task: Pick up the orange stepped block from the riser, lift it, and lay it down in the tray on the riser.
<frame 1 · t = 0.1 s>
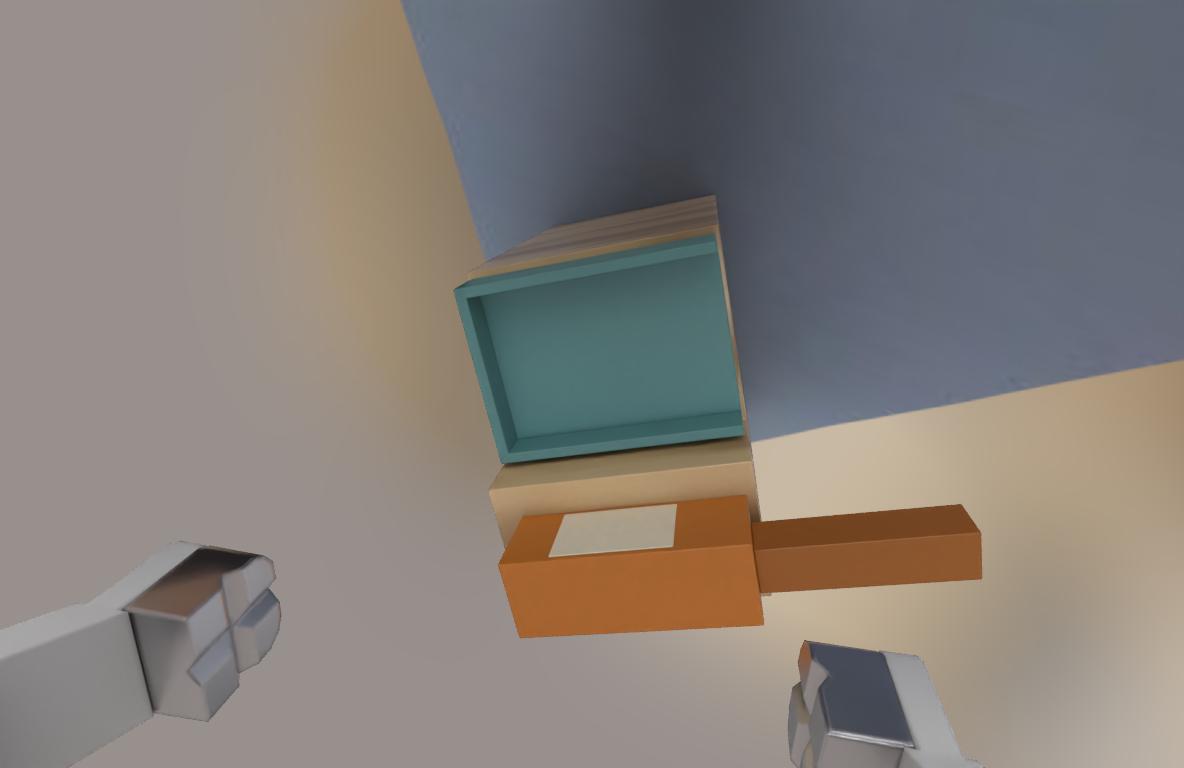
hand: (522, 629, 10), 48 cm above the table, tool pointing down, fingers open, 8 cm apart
tray: (625, 435, 38), resting on riser
riser: (653, 337, 58), on the table
orange stepped block: (637, 541, 35), point 26 cm above the table, touching riser
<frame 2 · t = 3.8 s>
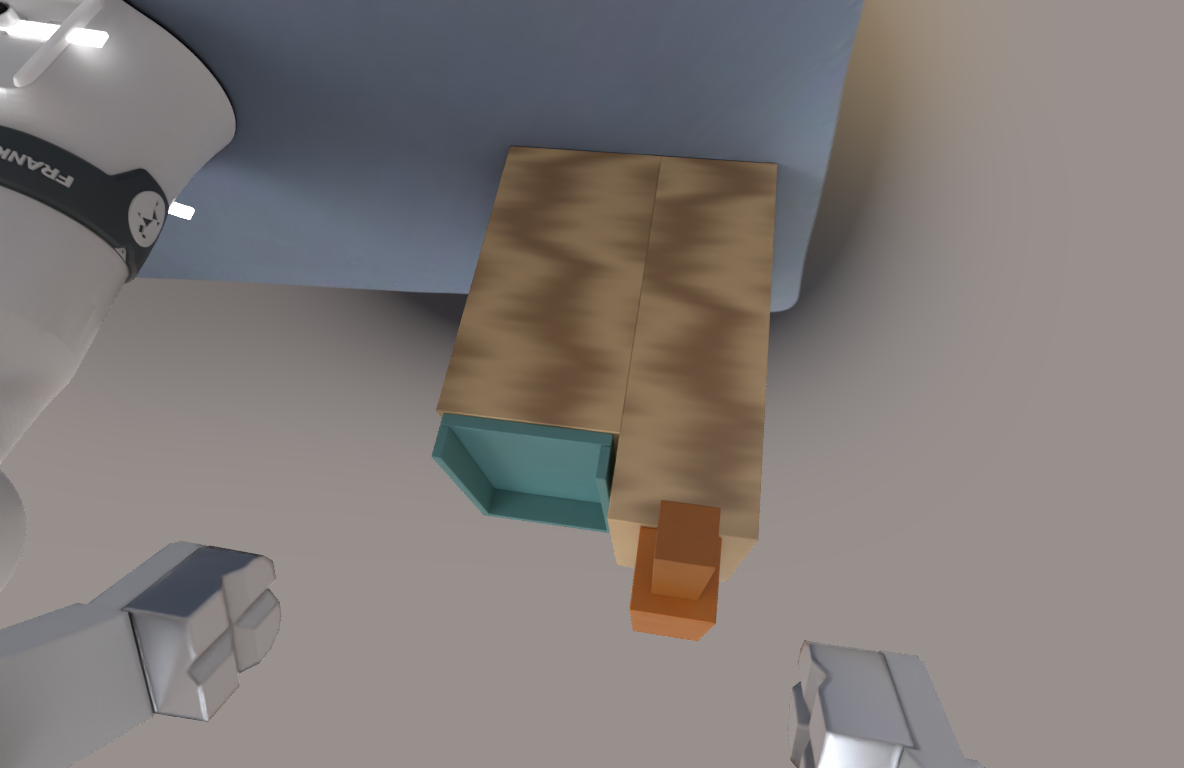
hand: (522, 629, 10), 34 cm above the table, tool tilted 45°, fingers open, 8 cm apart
tray: (623, 470, 43), resting on riser
riser: (659, 220, 52), on the table
orange stepped block: (675, 553, 40), point 26 cm above the table, touching riser
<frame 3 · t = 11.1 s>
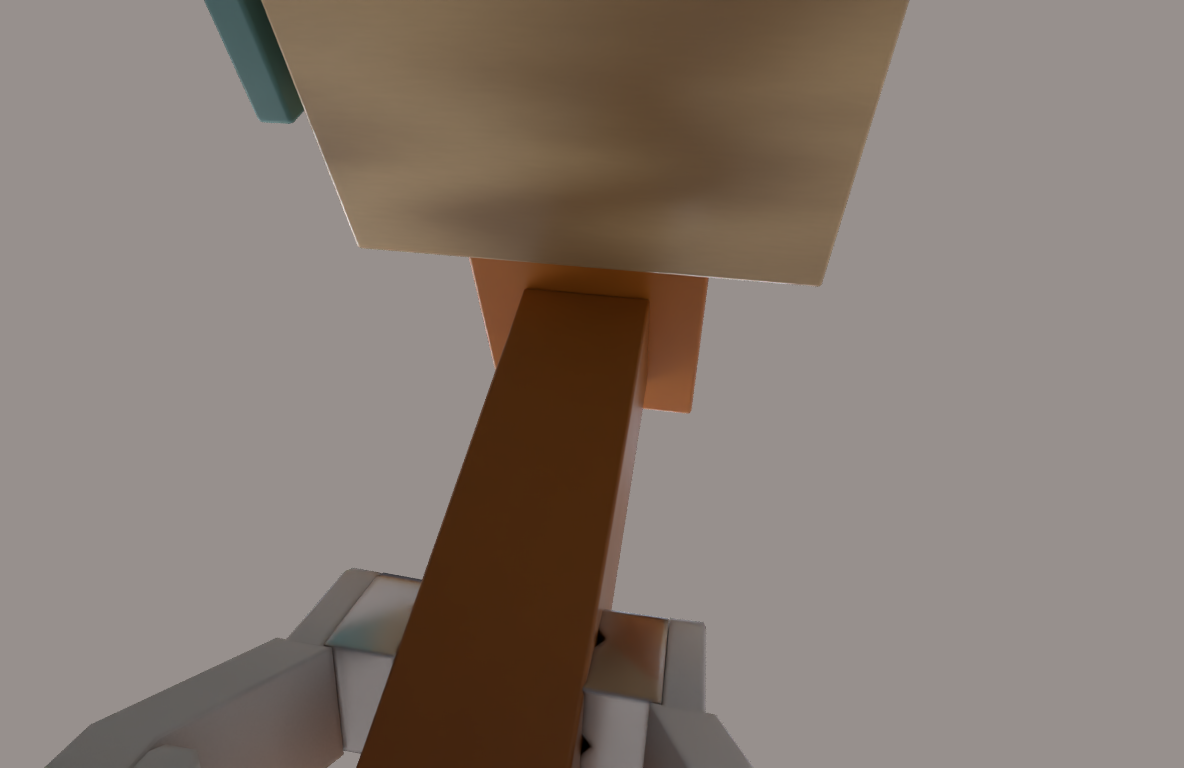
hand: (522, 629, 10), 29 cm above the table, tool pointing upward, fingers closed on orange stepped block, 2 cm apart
orange stepped block: (629, 85, 15), point 26 cm above the table, touching gripper, riser
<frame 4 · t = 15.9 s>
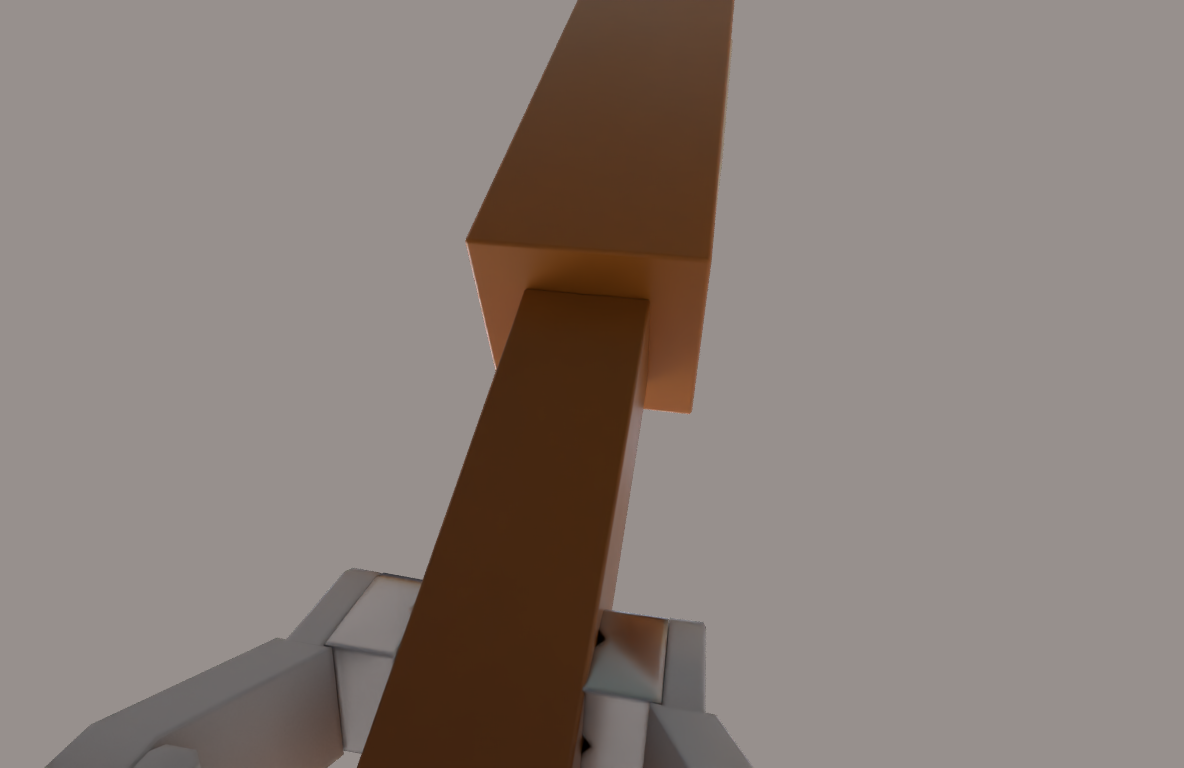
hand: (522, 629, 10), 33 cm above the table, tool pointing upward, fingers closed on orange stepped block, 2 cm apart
orange stepped block: (630, 85, 15), point 30 cm above the table, touching gripper
when the fingers open (24 cm above the table, at t = 20.7 s): orange stepped block stays where it is, resting on tray.
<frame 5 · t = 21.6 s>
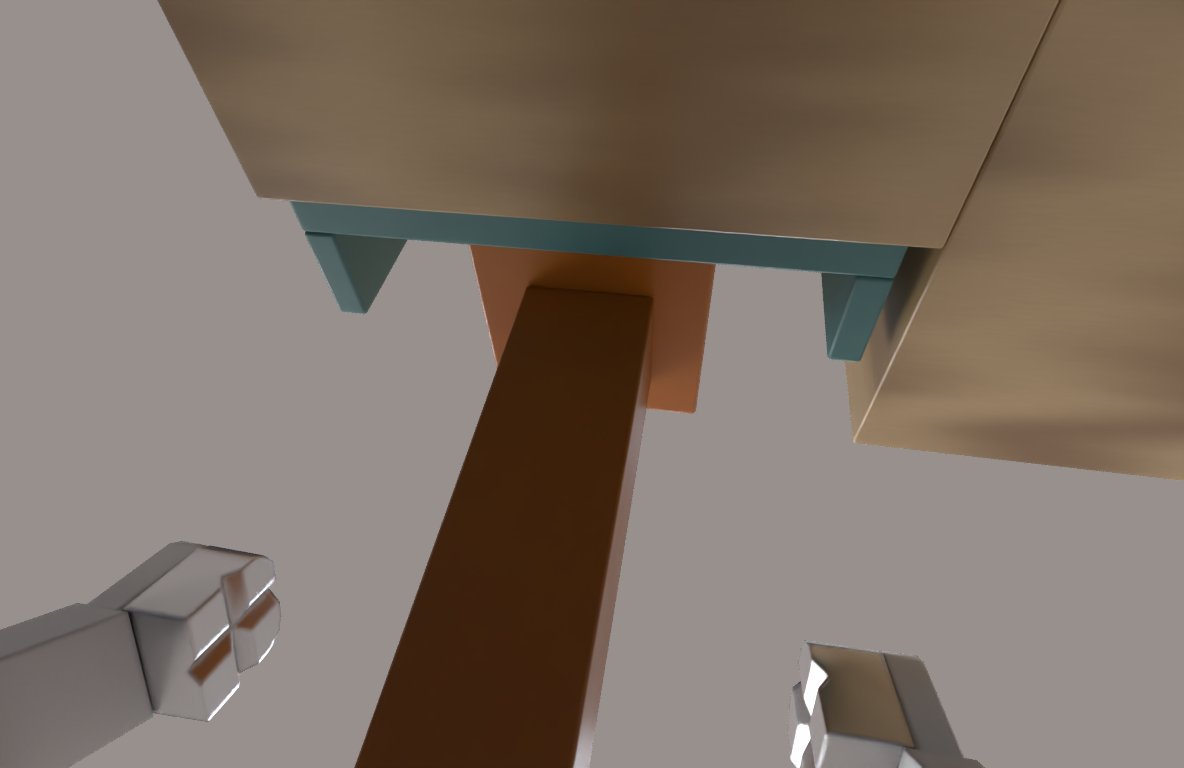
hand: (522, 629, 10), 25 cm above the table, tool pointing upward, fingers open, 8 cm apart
tray: (889, 41, 14), resting on riser
orange stepped block: (634, 81, 15), point 22 cm above the table, touching tray
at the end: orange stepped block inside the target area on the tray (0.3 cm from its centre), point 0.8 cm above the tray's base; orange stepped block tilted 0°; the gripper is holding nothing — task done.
